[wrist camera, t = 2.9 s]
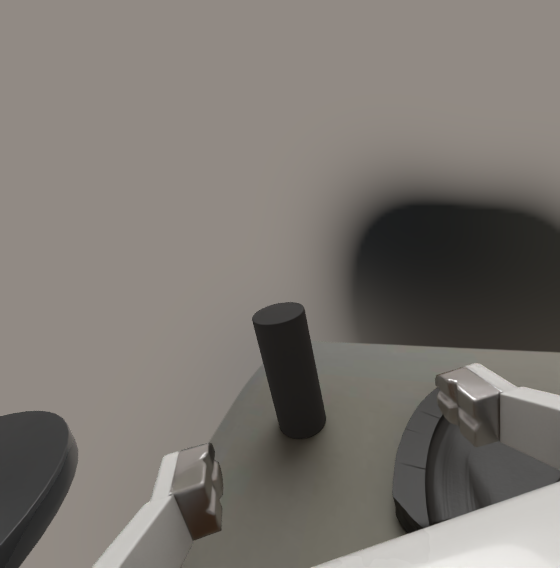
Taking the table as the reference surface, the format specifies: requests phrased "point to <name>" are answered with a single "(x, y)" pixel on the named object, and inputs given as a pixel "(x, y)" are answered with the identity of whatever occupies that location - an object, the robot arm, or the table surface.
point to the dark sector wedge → (456, 471)
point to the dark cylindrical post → (290, 368)
